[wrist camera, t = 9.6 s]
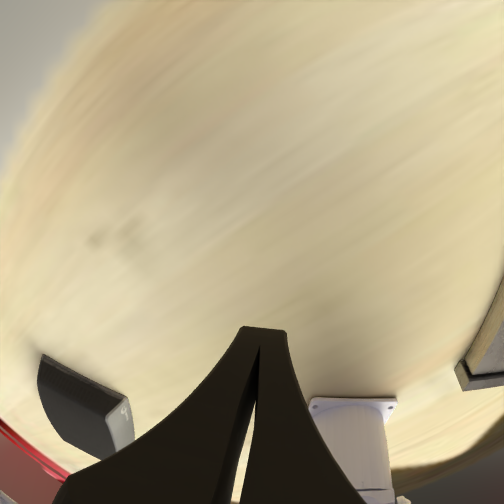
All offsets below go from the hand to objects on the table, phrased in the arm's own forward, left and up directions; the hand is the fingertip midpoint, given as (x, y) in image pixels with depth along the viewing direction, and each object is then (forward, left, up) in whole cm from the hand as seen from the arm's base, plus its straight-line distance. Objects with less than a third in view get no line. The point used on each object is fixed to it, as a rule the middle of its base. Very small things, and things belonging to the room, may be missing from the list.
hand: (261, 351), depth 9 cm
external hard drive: (-28, +22, -10) cm, 37 cm away
